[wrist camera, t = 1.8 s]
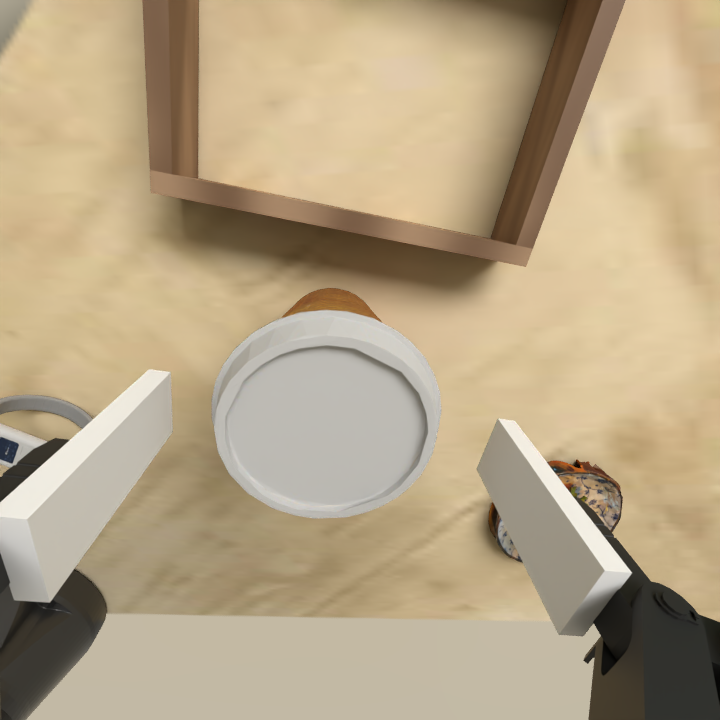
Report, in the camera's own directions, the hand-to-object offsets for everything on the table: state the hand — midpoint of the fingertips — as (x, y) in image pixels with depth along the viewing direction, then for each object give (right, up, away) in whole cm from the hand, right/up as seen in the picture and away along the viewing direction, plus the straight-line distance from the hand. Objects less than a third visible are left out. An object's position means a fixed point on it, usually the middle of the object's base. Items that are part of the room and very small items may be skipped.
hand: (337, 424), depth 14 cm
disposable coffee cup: (-1, +5, +10) cm, 11 cm away
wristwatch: (-20, -1, +12) cm, 23 cm away
